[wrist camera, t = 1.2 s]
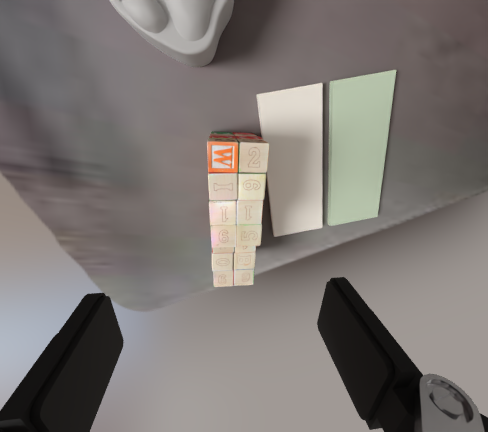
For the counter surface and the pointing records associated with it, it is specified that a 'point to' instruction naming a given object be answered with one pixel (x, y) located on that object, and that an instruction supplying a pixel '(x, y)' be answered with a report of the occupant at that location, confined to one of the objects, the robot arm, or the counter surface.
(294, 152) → the cream mat
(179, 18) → the grey animal paw
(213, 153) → the stack of blocks
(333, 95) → the sage mat
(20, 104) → the counter surface
